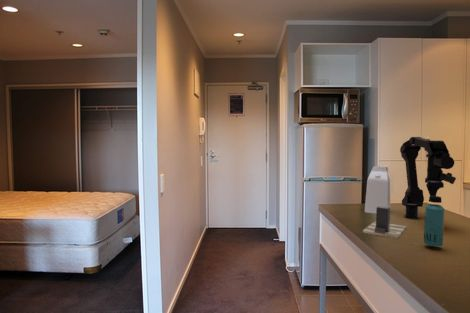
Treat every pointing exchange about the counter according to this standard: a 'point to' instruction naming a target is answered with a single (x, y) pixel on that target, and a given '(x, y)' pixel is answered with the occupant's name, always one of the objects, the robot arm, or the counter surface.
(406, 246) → the counter surface
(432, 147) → the robot arm
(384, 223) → the fader cap
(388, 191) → the milk
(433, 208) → the beverage bottle
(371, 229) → the console panel
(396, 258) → the counter surface
